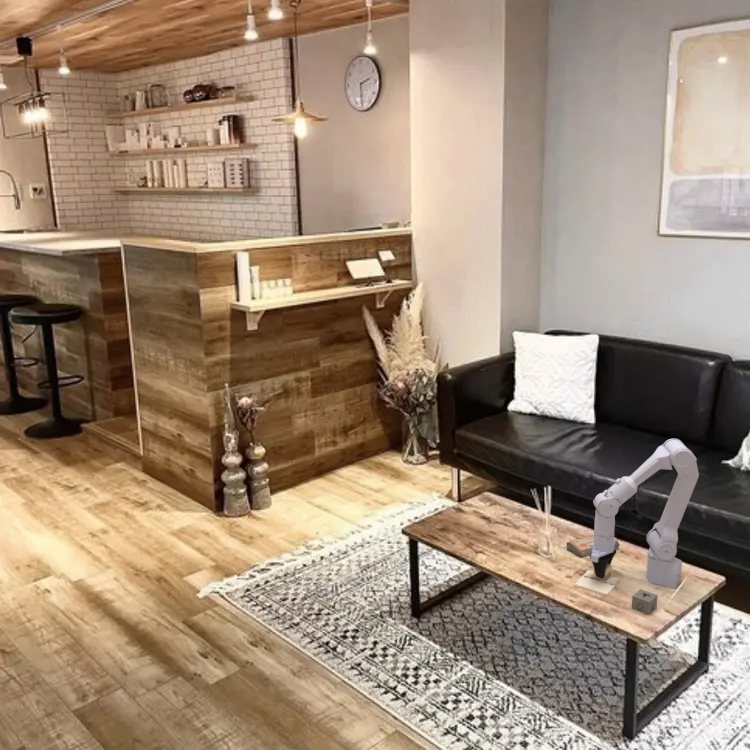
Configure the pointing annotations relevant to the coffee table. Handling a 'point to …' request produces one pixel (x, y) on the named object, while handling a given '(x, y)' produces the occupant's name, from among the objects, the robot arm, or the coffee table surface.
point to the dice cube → (644, 601)
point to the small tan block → (606, 578)
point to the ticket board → (594, 585)
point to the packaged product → (585, 546)
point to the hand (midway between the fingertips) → (602, 574)
